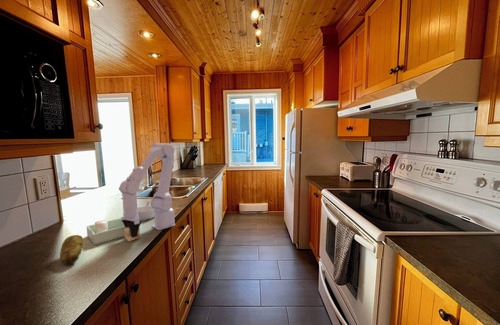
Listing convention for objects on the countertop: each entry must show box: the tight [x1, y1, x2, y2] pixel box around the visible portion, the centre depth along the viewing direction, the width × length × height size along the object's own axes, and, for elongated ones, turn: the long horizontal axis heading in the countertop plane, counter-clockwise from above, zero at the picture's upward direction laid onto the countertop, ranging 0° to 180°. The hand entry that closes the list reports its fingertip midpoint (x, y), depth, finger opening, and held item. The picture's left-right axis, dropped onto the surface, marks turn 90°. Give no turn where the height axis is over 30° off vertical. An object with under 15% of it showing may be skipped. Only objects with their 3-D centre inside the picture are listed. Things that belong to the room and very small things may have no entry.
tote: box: [86, 217, 125, 246], centre depth 109 cm, size 17×13×5 cm
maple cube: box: [124, 227, 141, 242], centre depth 104 cm, size 5×5×5 cm
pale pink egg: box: [94, 219, 108, 233], centre depth 106 cm, size 5×5×7 cm
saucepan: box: [137, 201, 155, 221], centre depth 136 cm, size 12×20×6 cm, turn 16°
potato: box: [59, 234, 84, 266], centre depth 87 cm, size 8×13×8 cm, turn 13°
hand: (132, 234), depth 105 cm, fingers closed on maple cube, 5 cm apart
